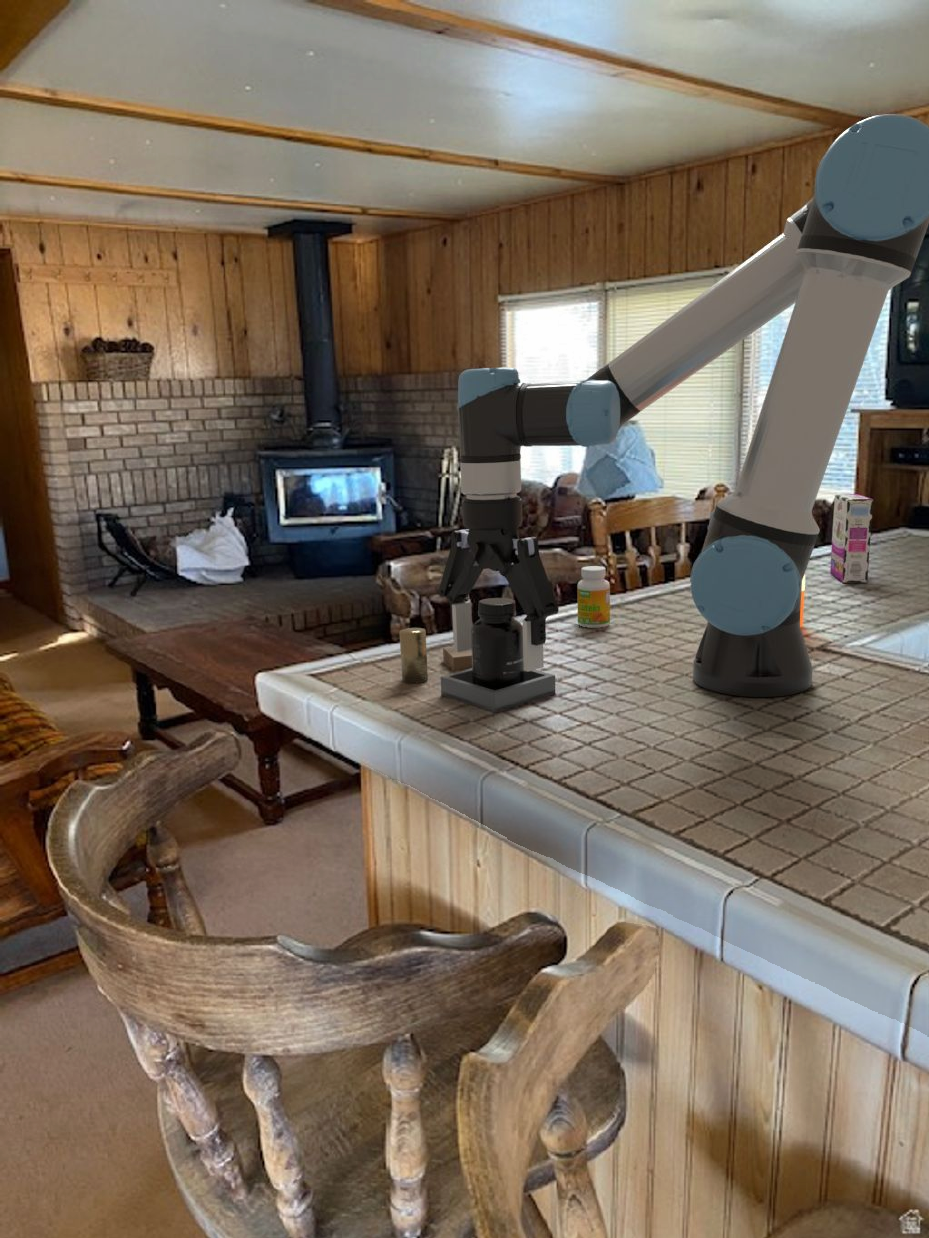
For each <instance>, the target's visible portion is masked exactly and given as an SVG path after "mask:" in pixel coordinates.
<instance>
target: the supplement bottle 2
mask: <svg viewBox="0 0 929 1238" xmlns="http://www.w3.org/2000/svg"><path fill="white" fill-rule="evenodd" d="M606 571H607V570H606V567H604V566H598V565H591V566H590V565H589V566H588V565H587V566H583V567H581V573H580V574H581V578H582V579H581V580H579V581H578V583H577V586H576V587H577V591H576V592H577V625H578V626H579V625H580V626H579V627H581V626H582V628H585V627H587V628H586V629H600V628H601V627H602V628H607V627H608V626H610V623H611V585H610V582H609V581H608V580H606V579H605V577H606V574H607V573H606ZM602 628H601V629H602Z"/></svg>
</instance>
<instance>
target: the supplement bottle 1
mask: <svg viewBox="0 0 929 1238" xmlns="http://www.w3.org/2000/svg"><path fill="white" fill-rule="evenodd" d="M477 605H478V607H477V616H478V617H479V619H478V620H477V621H475V622H474V623H473V624H472V629H471V647H472V684H475V685H478V686H482V687H485V688H488V689H491V690H499V689H502V688H505V687H509V686H512V685H515V684H519V683H522V682H524V657H523V624H522V623H521V622H520V621H519V620H517V619H515V616H517V610H516V600H514V599H511V598H508V597H507V598H506V597H505V598H504V597H495V598H494V597H491V598H484V599H481V600H479V601H478V603H477Z"/></svg>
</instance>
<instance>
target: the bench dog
mask: <svg viewBox="0 0 929 1238" xmlns="http://www.w3.org/2000/svg"><path fill="white" fill-rule="evenodd" d="M426 633H427V632H426V629H425V628H421V627H407V628H404V629H401V630H399V647H400V664H401V681H402V682H403V683H405V684H420V683H425V682H427V681H428V680H429V675H428V674H429V671H428V653H427V652H428V651H427V634H426Z"/></svg>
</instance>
